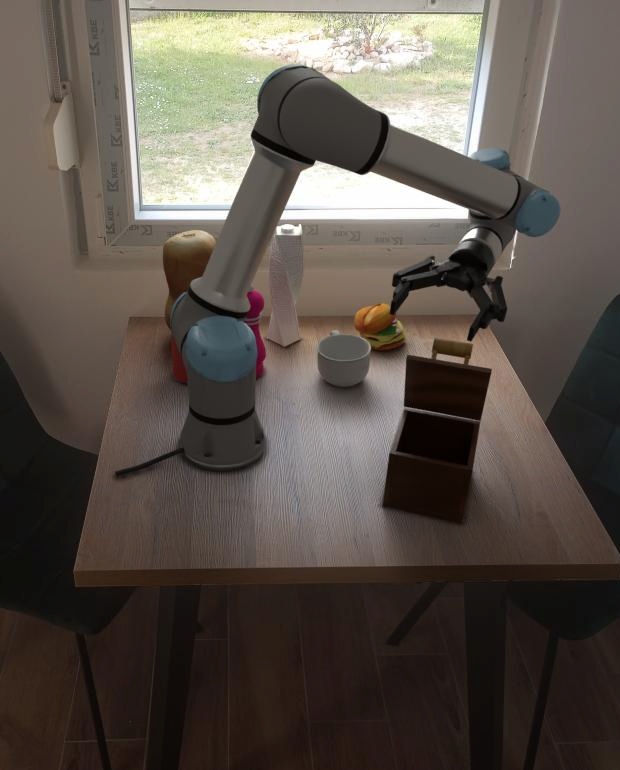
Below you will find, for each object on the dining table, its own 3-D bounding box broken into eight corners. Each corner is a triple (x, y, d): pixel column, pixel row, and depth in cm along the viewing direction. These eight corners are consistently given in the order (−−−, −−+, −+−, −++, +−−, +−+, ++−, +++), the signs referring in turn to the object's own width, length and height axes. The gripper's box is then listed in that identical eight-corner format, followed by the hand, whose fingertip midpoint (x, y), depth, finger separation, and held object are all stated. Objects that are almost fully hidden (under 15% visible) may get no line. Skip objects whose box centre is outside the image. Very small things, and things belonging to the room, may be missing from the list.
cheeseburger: (410, 353, 172) (404, 313, 167) (361, 362, 174) (354, 323, 169) (403, 330, 181) (397, 292, 176) (357, 339, 182) (349, 301, 177)
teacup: (370, 394, 158) (373, 359, 154) (316, 392, 159) (318, 358, 154) (363, 359, 170) (366, 326, 166) (313, 358, 170) (315, 325, 166)
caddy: (461, 524, 126) (472, 470, 121) (382, 506, 130) (389, 453, 124) (470, 473, 137) (480, 421, 132) (396, 458, 141) (403, 407, 135)
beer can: (192, 388, 159) (191, 335, 153) (166, 378, 162) (163, 327, 156) (211, 374, 164) (210, 322, 158) (185, 365, 167) (183, 314, 161)
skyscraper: (258, 337, 178) (261, 218, 163) (281, 327, 182) (286, 209, 167) (284, 350, 173) (289, 228, 158) (307, 339, 177) (314, 219, 163)
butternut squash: (165, 326, 182) (160, 222, 168) (224, 324, 183) (223, 220, 170) (166, 356, 170) (160, 247, 157) (229, 354, 171) (228, 245, 158)
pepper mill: (271, 367, 167) (273, 280, 156) (256, 383, 161) (258, 294, 151) (240, 359, 169) (240, 273, 159) (224, 375, 164) (224, 287, 153)
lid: (491, 372, 119) (497, 339, 122) (406, 358, 122) (413, 326, 125) (480, 421, 131) (486, 390, 134) (403, 406, 135) (410, 376, 137)
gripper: (537, 295, 141) (500, 363, 128) (407, 255, 151) (359, 315, 137) (547, 260, 136) (510, 327, 123) (412, 221, 146) (363, 279, 132)
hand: (430, 321), depth 130 cm, fingers open, 13 cm apart
